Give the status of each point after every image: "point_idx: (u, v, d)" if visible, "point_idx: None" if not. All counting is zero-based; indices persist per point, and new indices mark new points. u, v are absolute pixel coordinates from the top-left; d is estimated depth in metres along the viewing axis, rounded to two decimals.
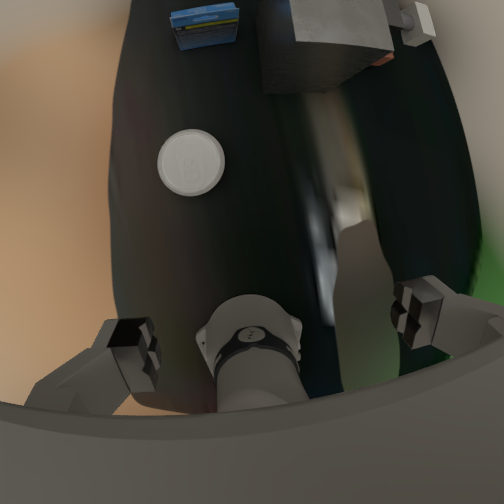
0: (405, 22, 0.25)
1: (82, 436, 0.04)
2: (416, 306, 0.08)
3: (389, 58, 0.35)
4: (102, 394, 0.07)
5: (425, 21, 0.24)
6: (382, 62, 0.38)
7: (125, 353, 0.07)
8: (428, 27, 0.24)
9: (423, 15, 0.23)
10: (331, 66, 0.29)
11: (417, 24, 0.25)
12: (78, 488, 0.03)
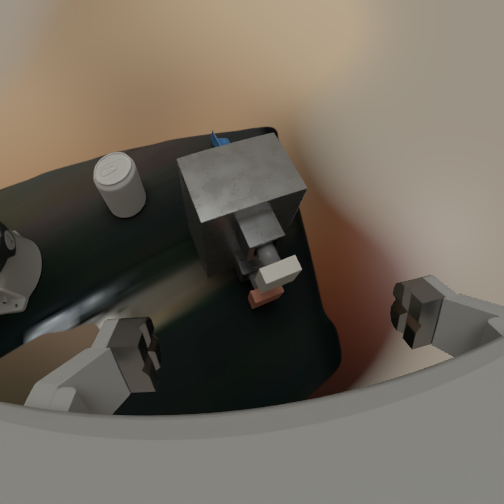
0: (265, 257, 0.39)
1: (82, 436, 0.04)
2: (416, 306, 0.08)
3: (254, 302, 0.47)
4: (102, 394, 0.07)
5: (276, 269, 0.37)
6: (252, 304, 0.49)
7: (125, 353, 0.07)
8: (271, 273, 0.36)
9: (283, 266, 0.37)
10: (194, 222, 0.43)
11: None
12: (78, 488, 0.03)
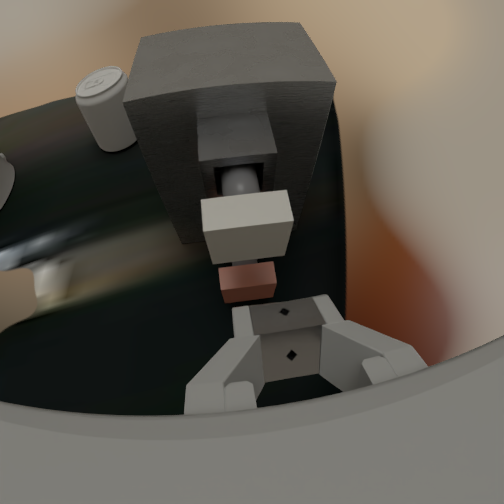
0: (229, 189, 0.19)
1: (82, 436, 0.04)
2: (289, 332, 0.08)
3: None
4: None
5: (237, 208, 0.17)
6: None
7: (274, 339, 0.08)
8: (222, 213, 0.16)
9: (253, 205, 0.17)
10: None
11: None
12: (78, 488, 0.03)
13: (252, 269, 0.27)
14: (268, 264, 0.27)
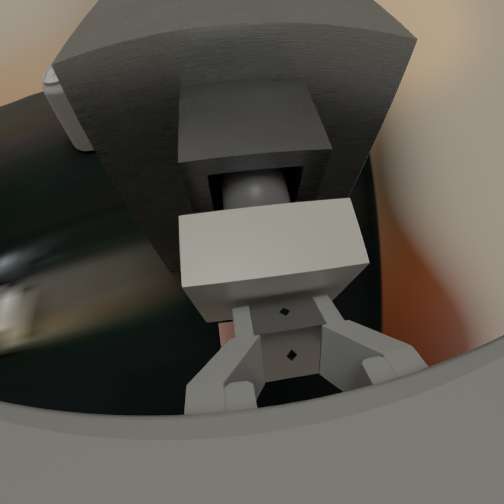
0: (236, 194, 0.10)
1: (82, 436, 0.04)
2: (289, 332, 0.08)
3: None
4: None
5: (253, 235, 0.08)
6: None
7: (274, 339, 0.08)
8: (222, 247, 0.08)
9: (287, 229, 0.08)
10: None
11: None
12: (78, 488, 0.03)
13: None
14: None
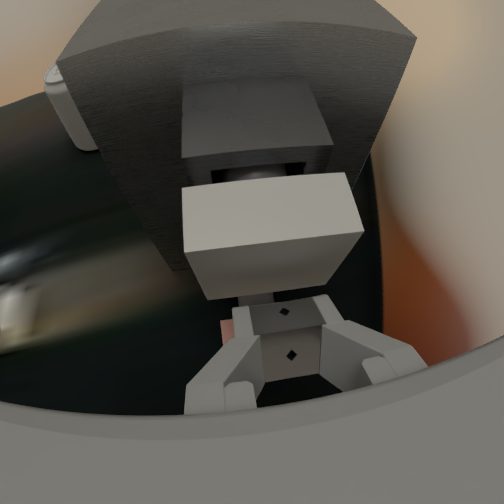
0: (236, 173, 0.10)
1: (82, 436, 0.04)
2: (289, 332, 0.08)
3: None
4: None
5: (252, 204, 0.08)
6: None
7: (274, 339, 0.08)
8: (223, 215, 0.08)
9: (285, 199, 0.08)
10: None
11: None
12: (78, 488, 0.03)
13: None
14: None
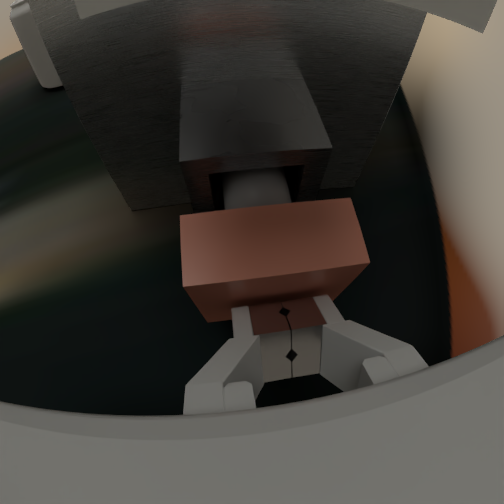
0: None
1: (82, 436, 0.04)
2: (289, 331, 0.08)
3: None
4: None
5: None
6: None
7: (273, 339, 0.08)
8: None
9: None
10: None
11: None
12: (78, 488, 0.03)
13: (290, 219, 0.08)
14: (337, 206, 0.08)
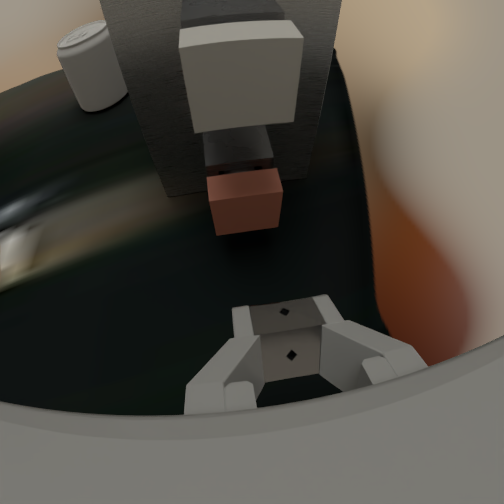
0: None
1: (82, 436, 0.04)
2: (289, 332, 0.08)
3: None
4: None
5: (226, 30, 0.10)
6: None
7: (274, 339, 0.08)
8: (206, 34, 0.10)
9: (248, 28, 0.10)
10: None
11: None
12: (78, 488, 0.03)
13: (250, 177, 0.20)
14: (270, 171, 0.20)
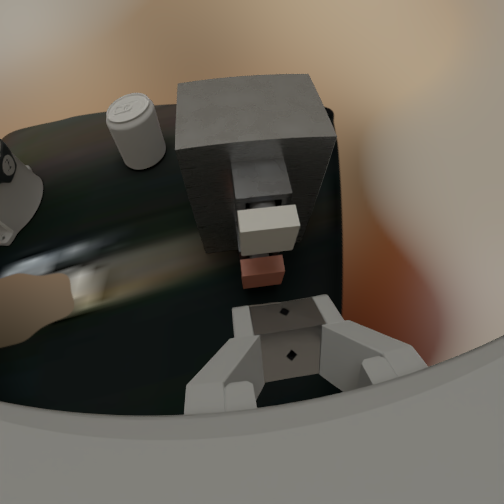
0: (254, 203, 0.27)
1: (82, 436, 0.04)
2: (289, 332, 0.08)
3: None
4: None
5: (262, 216, 0.25)
6: (242, 280, 0.37)
7: (274, 339, 0.08)
8: (252, 220, 0.25)
9: (273, 215, 0.25)
10: None
11: None
12: (78, 488, 0.03)
13: (266, 260, 0.35)
14: (278, 257, 0.35)
